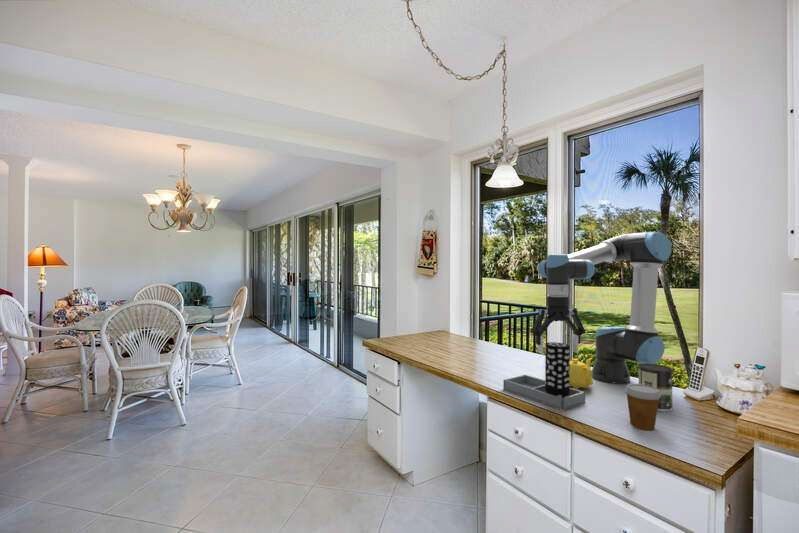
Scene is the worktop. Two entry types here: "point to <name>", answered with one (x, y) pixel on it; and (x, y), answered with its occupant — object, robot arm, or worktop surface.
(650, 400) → the disposable coffee cup
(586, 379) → the teapot
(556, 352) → the white-spotted black cylinder
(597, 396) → the worktop surface
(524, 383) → the gray divided tray
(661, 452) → the worktop surface
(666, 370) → the coffee can
